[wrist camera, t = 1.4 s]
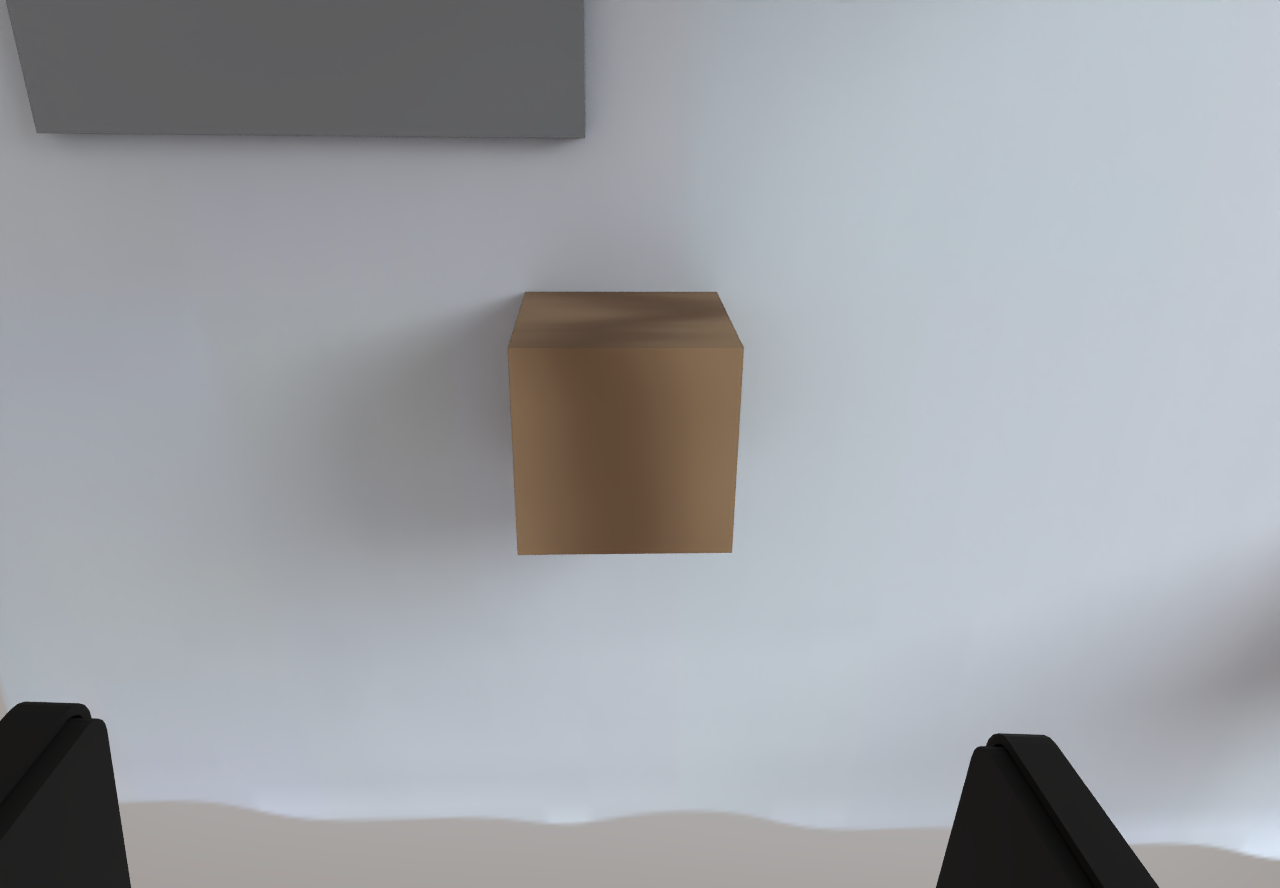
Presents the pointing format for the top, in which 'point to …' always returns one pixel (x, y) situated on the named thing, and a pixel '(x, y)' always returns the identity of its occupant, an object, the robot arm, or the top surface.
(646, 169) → the top surface
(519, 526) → the walnut block
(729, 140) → the top surface
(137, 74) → the slate coaster
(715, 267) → the top surface
